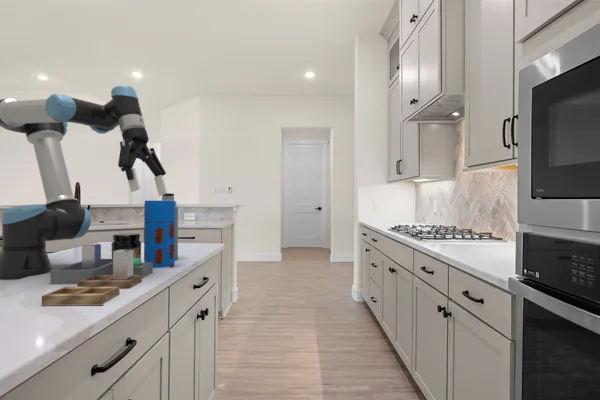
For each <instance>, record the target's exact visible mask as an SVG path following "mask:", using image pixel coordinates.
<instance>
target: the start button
mask: <svg viewBox="0 0 600 400" xmlns="http://www.w3.org/2000/svg"><path fill="white" fill-rule="evenodd" d="M133 266H140V258H133Z"/></svg>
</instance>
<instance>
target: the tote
mask: <svg viewBox="0 0 600 400" xmlns="http://www.w3.org/2000/svg"><path fill="white" fill-rule="evenodd" d="M49 273H50V276H49V277H50V283H49V284H50V285H77V282H78V281H81V280H83V279H86V278H89V277H92V280H95V276H97V275H113V259H112V258H101V267H98V268H95V269H93V270H82V260H80V261H78V262H74V263H71V264H68V265H65V266H62V267H58V268H56V269H52V270H51V271H50V272H49Z"/></svg>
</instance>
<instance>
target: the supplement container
mask: <svg viewBox="0 0 600 400" xmlns="http://www.w3.org/2000/svg"><path fill="white" fill-rule="evenodd" d="M112 240H113V241H112V243H111V244H110V245H111V259H113V251H117V250H128V249H132V250H133V258H140V263H142V241H141V234H140V233H139V232H124V233H123V232H122V233H114V234H112Z"/></svg>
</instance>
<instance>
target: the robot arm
mask: <svg viewBox="0 0 600 400" xmlns="http://www.w3.org/2000/svg"><path fill="white" fill-rule="evenodd" d="M110 95H111V99H110V100H109V101H108V102H106V103H105V104H104V105H103V104H98V103H94V102H91V101H86V100H83V99H80V98H79V99H78V98H75V97H72V96H69V95H65V94H59V93H53V94H50V96H48V97H47V98H42V99H40V98H39V99H29V100H27V99H26V100H20V99H17V98H12V97H11V98H10V97H9V98H2V99H0V127H2V128H3V129H4V130H7V131H11V132H15V133H20V134H25V136H26V140H27V142H28V143H30V144H31V145H32V146H33V148H34V153H35V158H36V162H37V166H38V169H39V174H40V178H41V183H42V187H43V192H44V195H45V200H46V202H45V203H43V204H42V203H39V204H25V205H17V206H10V207H7V208H5V209H4V210H3V212H2V219H1V220H2V221H1V225H2V226H1V227H2V228H1V229H2V236H1V237H2V242H1V245H2V252H1V256H0V279H1V280H3V279H4V280H12V279H14V280H15V279H17V280H18V279H25V278H28V277H34V276H40V275H45V274H48V273H50V271H51V270H53V269H52V268H53V267H52V263H51V261H50V258H49V255H48V253H47V250H46V246H47V243H46V242H51V241H62V240H73V239H79V238H83V237H84V236H85V235H86V234H87V233H88V231H89V229H90V227H91V224H92V223H91V222H92V217H91V216H92V215H91V212H90V210H89V209H88V208H87V207H85V206H81V203H80V200H79V199H78V198H75V197H74V193H73V190H72V186H71V182H70V177H69V174H68V173H69V172H68V170H67V166H66V161H65V157H64V153H63V149H62V143H61V141H62V140H63V139H64V136H65V135H66V133H67V131H68V128H67V127H68V123H73V124H80V125H84V126H89V127H90V129H91V130H93V131H94V132H96V133H97V134H107V133H109V132H110V131H111V132H112V131H113V130H114V129H116V128H117V127H118V126H119V129H120V130H119V131H120V133H121V137H122V140H121V141H120V142H119V145H120V146H119V147H120V151H119V156H118V163H117V165H118V168H120V171H121V172H123V173H124V172H125V176H126V179H127V180H128V185H129V189H130V192H131V193H133V192H136V191H138V190H141V186H140V183H139V178H138V175H137V171H136V168H133V167H134V164H135V163H136V160H137V159H138V160H141V161H142V162H143V163H145V165H146V166H147V168H148V169H149V170H150V172H152V174H153V175H154V177H153V179H154V182H155V186H156V190H157V193H158V196H159V197H162V195H164V194H166V193H168V192H167V188H166V183H165V180H164V178H163V177H164V176H165V175H166V174H167V173H166V170H165V168H164V167H163V165H162V163H161V161H160V159H159V157H158V156H157V153H156V151H155V148H154V147H151V148H149V146H148V145H147V144H148V142H149V136H148V131H147V129H146V125H145V121H144V117H143V114H142V110H141V106H140V102H139V98H138V95H137V92H136V90H135V89H134V87H132V86H130V85H127V84H120V85H116V86H114V87H113V88H111V92H110Z"/></svg>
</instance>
